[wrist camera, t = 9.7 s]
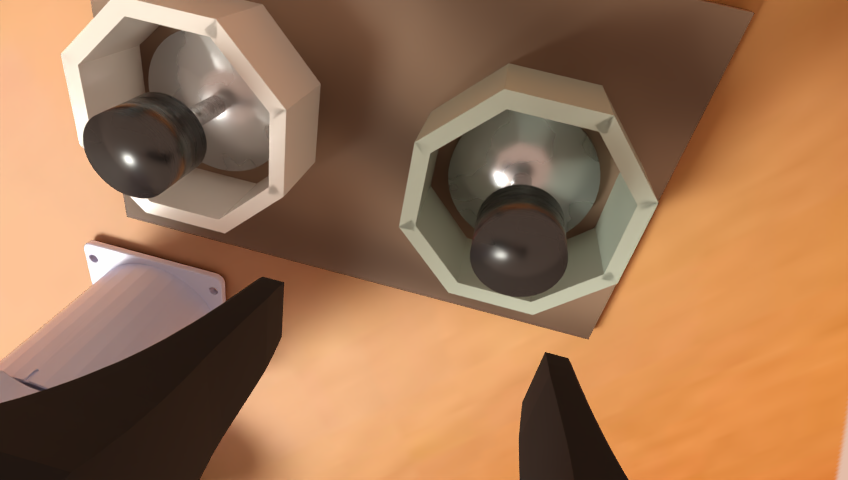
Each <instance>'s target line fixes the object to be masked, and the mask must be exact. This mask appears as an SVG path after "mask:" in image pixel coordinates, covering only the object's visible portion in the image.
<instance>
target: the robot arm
mask: <svg viewBox="0 0 848 480" xmlns="http://www.w3.org/2000/svg"><path fill="white" fill-rule="evenodd" d="M84 250H85V255H86V259H87V263H88V267H89V272H90V276H91V280H92V286H91V287H89V288H88V289H87V290H86V291H84V292H83V293H82V294H81V295H80V296H78V297H77V298H76V299H75V300H74V301H72V302H71V303H70V304H69V305H68V306H66V307H65V308H64V309H63V310H62V311H60V312H59V313H58V314H57V315H55V316H54V317H53V318H52V319H51V320H49V321H48V322H47V323H46V324H45V325H43V326H42V327H41V328H40V329H39V330H37V331H36V332H35V333H34V334H33V335H31V336H30V337H29V338H28V339H26V340H25V341H24V342H23V343H22V344H20V345H19V346H18V347H17V348H16V349H14V350H13V351H12V352H11V353H10V354H8V355H7V356H6V357H5V358H4V359H2V360H1V361H0V480H200V478H201V476H202V474H203V472H204V470H205V468H206V466H207V464H208V462H209V460H210V458H211V456H212V454H213V453H214V451H215V449H216V447H217V446H218V444H219V442H220V441H221V439H222V437H223V436H224V434H225V433H226V431H227V430H228V428H229V426H230V425H231V423H232V422H233V420H234V419H235V417H236V416H237V414H238V412H239V411H240V409H241V408H242V406H243V405H244V403H245V402H246V400H247V398H248V397H249V395H250V394H251V392H252V391H253V389H254V388H255V386H256V384H257V383H258V381H259V380H260V378H261V377H262V375H263V373H264V372H265V370H266V368H267V366H268V364H269V362H270V360H271V358H272V356H273V354H274V352H275V350H276V348H277V345H278V343H279V341H280V339H281V337H282V316H283V294H284V282H280V281H277V280H273V279H269V278H265V277H261V278H259V279H258V280H256V281H255V282H253V283H252V284H250V285H249V286H248V287H246V288H245V289H243V290H242V291H240V292H239V293H237V294H236V295H234V296H233V297H232V298H230V299H229V300H227V301H226V295H225V281H224V279H223V277H222V276H220V275H219V274H217V273H213V272H210V271H206V270H202V269H199V268H195V267H191V266H187V265H184V264H180V263H176V262H173V261H169V260H165V259H161V258H158V257H154V256H150V255H147V254H143V253H139V252H135V251H132V250H128V249H124V248H121V247H117V246H113V245H109V244H106V243H102V242H98V241H94V240H91V241H89V242H88V243H86V244H85V245H84ZM214 288H215V289H216V290H215V289H214ZM519 470H520V480H628V478H627V476H626V475H625V473H624V471H623V470H622V468H621V466H620V465H619V463H618V461H617V459H616V457H615V456H614V454H613V452H612V450H611V448H610V447H609V445H608V443H607V441H606V439H605V437H604V435H603V433H602V431H601V429H600V427H599V425H598V423H597V421H596V419H595V417H594V415H593V413H592V411H591V409H590V406H589V404H588V402H587V400H586V398H585V395H584V393H583V391H582V389H581V386H580V384H579V382H578V379H577V377H576V375H575V372H574V370H573V367H572V365H571V363H570V361H569V359H568V358H565V357H561V356H558V355H554V354H550V353H546V352H545V354H544V356H543V358H542V360H541V363H540V365H539V367H538V369H537V371H536V374H535V376H534V378H533V380H532V382H531V385H530V387H529V389H528V391H527V393H526V396H525V398H524V400H523V402H522V411H521V421H520V432H519Z"/></svg>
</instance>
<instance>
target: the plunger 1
mask: <svg viewBox="0 0 848 480" xmlns="http://www.w3.org/2000/svg"><path fill="white" fill-rule="evenodd" d="M148 82H149V92H147V93H144V94H141V95H139V96H137V97H135V98H133V99H130V100H128V101H126V102H124V103H121V104H119V105H117V106H115V107H112V108H110V109H108V110H106V111H103V112H101V113H99V114H97V115H95V116H93V117H92V118H91V119H90V120H89V121H88V122H87V124H86V125H85V128H84V131H83V145H84V150H85V153H86V155H87V158H88V160H89V162H90V164H91V165H92V167H93V168H94V170H95V171H96V172H97V174H98V175H99V176H100V177H101V178H102V179H103V180H104V181H105V182H106V183H107V184H109V185H110V186H111V187H113V188H114V189H116V190H117V191H119V192H121V193H123V194H125V195H128V196H131V197H135V198H141V199H147V198H153V197H156V196H158V195H159V194H161V193H162V192H164V191H165V190H167V189H168V188H169V187H171V186H172V185H173V184H175V183H176V182H177V181H179V180H180V179H181V178H183V177H184V176H186V175H187V174H188V173H190V172H191V171H192V170H194V169H195V168H196V167H198V166H199V165H200V164H201V163H204V164H207V165H209V166H211V167H214V168H217V169H221V170H226V171H245V170H250V169H253V168H256V167H258V166H260V165H262V164H264V163H265V162H266V161H268V160H269V126H270V113H269V112H268V110H267V109H266V108H265V106H264V105H263V104H262V103H261V101H260V100H259V99H258V98H257V96H256V95H255V94H254V93H253V91H252V90H251V89H250V87H249V86H248V85H247V84H246V82H245V81H244V80H243V79H242V77H241V76H240V75H239V73H238V72H237V71H236V70H235V68H234V67H233V66H232V65H231V63H230V62H229V61H228V60H227V58H226V57H225V56H224V54H223V53H222V52H221V51H220V49H219V48H218V47H217V46H216V44H215V43H214V42H213V40H212V39H211V38H210V37H208V36H204V35H200V34H196V33H192V32H188V31H184V30H181V31H178V32H175V33H174V34H172V35H170V36H169V37H167V38H166V39H165V40H163V42H162V43H161V44H160V45H159V46H158V48H157V49H156V51H155V53H154V55H153V57H152V60H151V63H150V67H149V76H148Z"/></svg>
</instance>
